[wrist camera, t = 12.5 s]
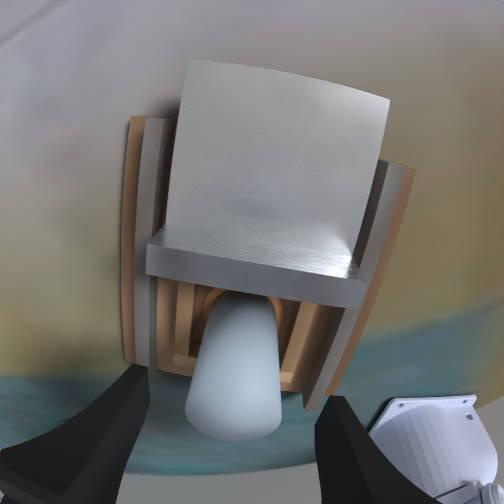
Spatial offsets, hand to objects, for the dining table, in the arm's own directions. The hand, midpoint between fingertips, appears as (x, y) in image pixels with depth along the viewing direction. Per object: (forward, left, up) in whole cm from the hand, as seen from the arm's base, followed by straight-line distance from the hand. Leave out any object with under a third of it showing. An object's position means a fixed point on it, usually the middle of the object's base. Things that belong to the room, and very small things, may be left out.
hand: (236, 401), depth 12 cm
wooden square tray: (0, -2, -7) cm, 7 cm away
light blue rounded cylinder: (0, 0, -6) cm, 6 cm away
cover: (0, -8, -5) cm, 9 cm away
